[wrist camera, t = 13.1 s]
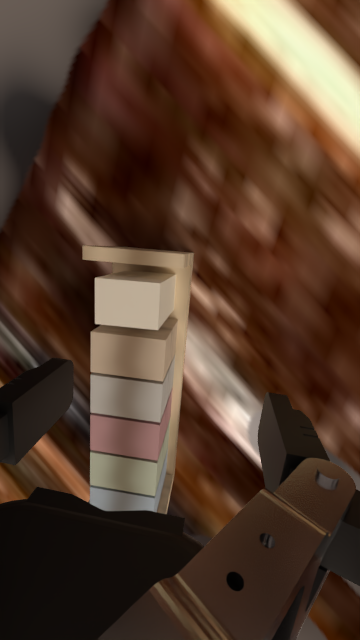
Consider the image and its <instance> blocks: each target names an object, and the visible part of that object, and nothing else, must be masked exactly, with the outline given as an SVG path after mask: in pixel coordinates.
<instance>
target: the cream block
mask: <svg viewBox="0 0 360 640" xmlns="http://www.w3.org/2000/svg"><path fill="white" fill-rule="evenodd" d="M175 284H176V274H167V273H155V272H143V271H131V270H126V271H122V272H118V273H113V274H109V275H105V276H100V277H96V278H95V324H102V325H111V326H121V327H131V328H141V329H150V330H159V328H160V327H161V326H162V324H163V323H164V322H165V320H166V319H167V318H168V316H169V315H170V314H171V312H172V311H173V310H174V299H175Z"/></svg>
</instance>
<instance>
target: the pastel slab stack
mask: <svg viewBox="0 0 360 640" xmlns="http://www.w3.org/2000/svg"><path fill="white" fill-rule="evenodd" d="M193 256H194V253H191V252H179V251H167V250H155V249H143V248H131V247H119V246H83V260H93V261H104V262H112V274H113V273H118V272H122V271H126V270H131V271H143V272H155V273H167V274H176V284H175V299H174V310H173V311H172V312H171V314H170V315H169V316H168V318H167V319H166V320H165V322H164V323H163V324H162V326H161V327H160V328H159V330H150V329H141V328H131V327H121V326H111V325H100V326H99V327H97V328H96V329H94V330H93V331H91V372H93V373H92V374H91V396H90V412H92V414H91V415H90V450H91V452H90V485H91V486H90V500H89V502H88V503H90V504H92V505H94V506H96V507H98V508H100V509H102V510H104V511H134V510H148V511H153V512H158V513H163V514H167V509H168V504H169V499H170V494H171V489H172V484H173V479H174V473H175V462H176V450H177V439H178V427H179V416H180V404H181V393H182V382H183V370H184V359H185V347H186V336H187V324H188V313H189V301H190V290H191V278H192V267H193Z"/></svg>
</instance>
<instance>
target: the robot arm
mask: <svg viewBox="0 0 360 640" xmlns="http://www.w3.org/2000/svg"><path fill="white" fill-rule="evenodd" d="M72 399H73V362H72V361H71V360H65V359H59V358H52V359H50V360H49V361H47V362H46V363H44V364H43V365H41V366H40V367H37V368H34V369H31V370H28V371H25V372H24V373H22V374H21V375H19V376H18V377H17V378H16V379H13V380H12V381H10V382H9V384H5V385H4V386H2V387H1V388H0V462H3V463H8V464H13V465H16V464H17V463H18V462H19V461H20V460H21V459H22V458H23V457H24V456H25V454H26V453H27V452H28V451H29V450H30V449H31V448H32V447H33V446H34V445H35V444H36V443H37V442H38V441H39V440H40V438H41V437H42V436H43V435H44V434H45V433H46V432H47V431H48V430H49V429H50V428H51V427H52V426H53V425H54V424H55V422H56V421H57V420H58V419H59V418H60V417H61V416H62V415H63V414H64V413H65V412H66V411H67V410H68V408H69V407H70V405H71V402H72ZM258 446H259V452H260V457H261V463H262V469H263V475H264V481H265V486H266V488H264V489H262V490H261V491H260V492H259V493H258V494H257V495H256V496H255V497H254V498H253V499H252V500H251V501H250V502H249V503H248V504H247V505H246V506H245V507H244V508H243V509H242V510H241V511H240V512H239V513H238V514H237V515H236V516H235V517H234V518H233V519H232V520H231V521H230V522H229V523H228V524H227V525H226V526H225V527H224V528H223V529H222V530H221V531H220V532H219V533H218V534H217V535H216V536H215V537H214V538H213V539H212V540H211V541H210V542H209V543H208V544H207V545H206V546H203V545H202V544H201V543H200V542H199V541H197V540H196V539H194V538H193V537H191V536H189V535H187V534H186V533H184V532H183V528H184V521H185V518H181V517H177V516H172V515H167V514H163V513H158V512H153V511H148V510H134V511H104V510H102V509H100V508H98V507H96V506H94V505H92V504H90V503H88V502H86V501H84V500H82V499H80V498H78V497H76V496H74V495H72V494H68V493H64V492H59V491H54V490H50V489H45V488H40V487H37V488H36V489H35V490H34V491H33V493H32V494H31V495H30V497H29V498H28V499H23V500H15V501H10V502H5V503H2V504H0V640H296V639H297V637H298V634H299V632H300V630H301V627H302V625H303V623H304V621H305V619H306V617H307V615H308V613H309V611H310V609H311V607H312V605H313V603H314V601H315V599H316V597H317V595H318V593H319V591H320V589H321V587H322V585H323V583H324V581H325V579H326V577H327V575H328V573H329V571H332V572H334V573H336V574H338V575H340V576H342V577H344V578H345V579H347V580H349V581H351V582H353V583H355V584H357V585H359V586H360V491H358V490H356V486H355V483H354V481H353V479H352V478H351V476H350V475H349V474H348V473H347V472H346V471H344V470H343V469H342V468H341V467H339V466H337V465H336V464H334V463H332V462H330V460H329V458H328V456H327V454H326V451H325V449H324V447H323V445H322V443H321V441H320V439H319V438H318V435H317V433H316V431H315V430H314V427H313V425H312V423H311V421H310V419H309V418H308V417H307V416H306V415H305V414H303V413H302V412H301V411H300V410H294V409H292V406H291V404H290V401H289V399H288V397H287V395H281V394H275V393H268V392H267V393H266V395H265V399H264V404H263V409H262V414H261V419H260V424H259V430H258Z"/></svg>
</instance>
